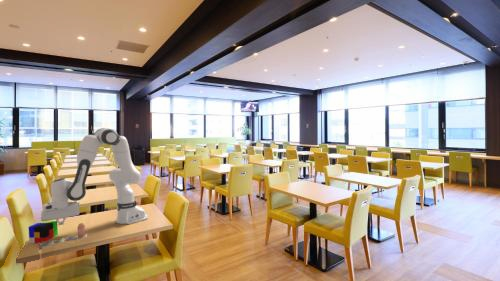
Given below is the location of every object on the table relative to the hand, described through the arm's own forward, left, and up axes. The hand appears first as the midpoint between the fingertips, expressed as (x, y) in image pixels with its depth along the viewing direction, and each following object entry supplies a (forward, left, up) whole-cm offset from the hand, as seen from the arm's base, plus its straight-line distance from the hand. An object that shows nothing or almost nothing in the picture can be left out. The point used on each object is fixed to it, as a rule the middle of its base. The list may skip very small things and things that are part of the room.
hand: (61, 224), depth 170 cm
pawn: (-10, +12, -6) cm, 17 cm away
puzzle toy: (+9, 0, -8) cm, 12 cm away
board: (-1, +12, -7) cm, 14 cm away
